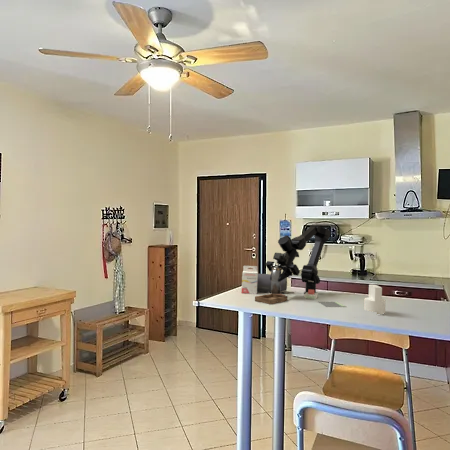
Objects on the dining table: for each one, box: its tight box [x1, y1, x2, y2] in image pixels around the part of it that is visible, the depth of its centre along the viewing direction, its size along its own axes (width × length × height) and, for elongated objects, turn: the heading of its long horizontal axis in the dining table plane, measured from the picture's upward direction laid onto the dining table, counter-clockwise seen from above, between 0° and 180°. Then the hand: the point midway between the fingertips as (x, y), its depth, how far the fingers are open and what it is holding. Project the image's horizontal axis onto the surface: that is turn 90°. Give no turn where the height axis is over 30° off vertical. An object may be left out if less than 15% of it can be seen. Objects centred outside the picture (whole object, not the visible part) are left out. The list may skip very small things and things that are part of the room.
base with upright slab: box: [363, 284, 386, 315], centre depth 183 cm, size 9×9×12 cm
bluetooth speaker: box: [257, 273, 288, 293], centre depth 229 cm, size 23×9×10 cm, turn 77°
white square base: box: [303, 292, 319, 300], centre depth 209 cm, size 6×6×3 cm
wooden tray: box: [254, 293, 288, 305], centre depth 202 cm, size 14×10×2 cm
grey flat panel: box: [318, 301, 347, 308], centre depth 192 cm, size 12×10×1 cm
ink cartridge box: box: [241, 265, 259, 295], centre depth 223 cm, size 9×5×15 cm, turn 84°
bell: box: [270, 266, 282, 294], centre depth 204 cm, size 5×5×14 cm
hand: (274, 280), depth 203 cm, fingers closed on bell, 5 cm apart
